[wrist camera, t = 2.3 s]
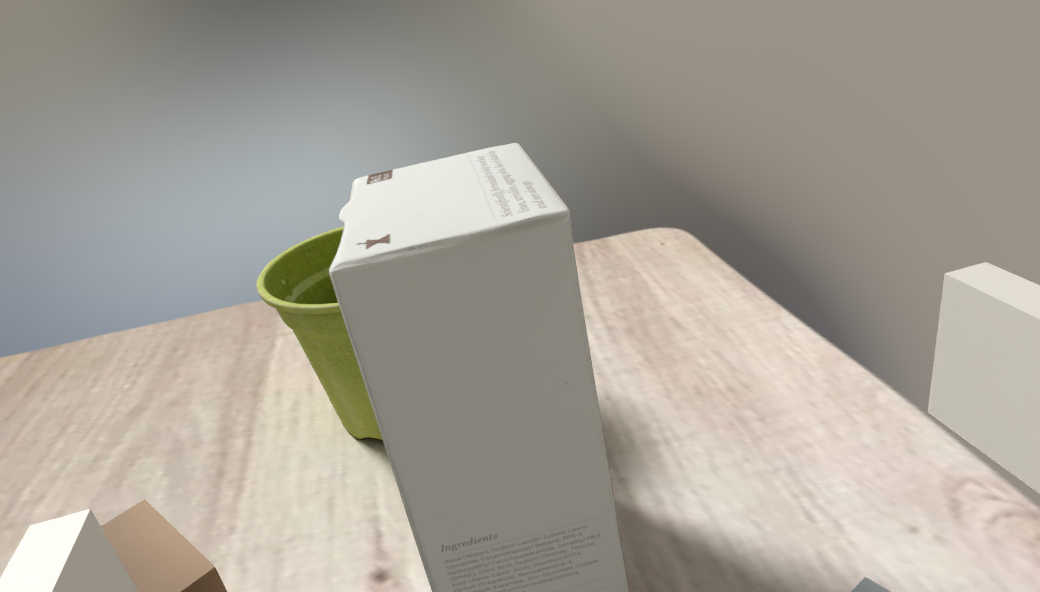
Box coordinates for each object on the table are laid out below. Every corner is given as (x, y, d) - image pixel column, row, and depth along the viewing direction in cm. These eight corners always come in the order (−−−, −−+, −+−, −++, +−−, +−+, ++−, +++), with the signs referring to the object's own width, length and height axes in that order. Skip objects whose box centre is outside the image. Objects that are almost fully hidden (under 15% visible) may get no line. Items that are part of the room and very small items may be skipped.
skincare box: (641, 653, 22) (593, 213, 15) (453, 700, 22) (319, 268, 15) (578, 477, 29) (528, 130, 23) (438, 509, 29) (344, 165, 22)
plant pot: (524, 412, 34) (495, 251, 30) (339, 499, 30) (279, 329, 27) (447, 339, 42) (416, 203, 38) (292, 401, 38) (240, 258, 34)
